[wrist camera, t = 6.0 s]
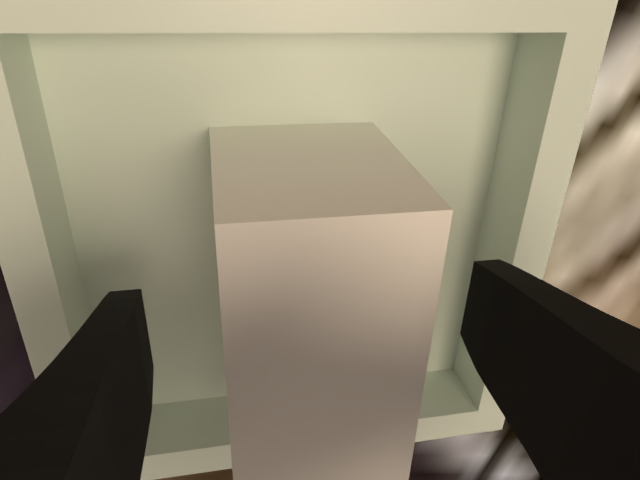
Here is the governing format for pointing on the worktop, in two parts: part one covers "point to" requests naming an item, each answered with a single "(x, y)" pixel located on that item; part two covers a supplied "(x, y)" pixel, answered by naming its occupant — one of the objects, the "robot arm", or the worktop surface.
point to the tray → (271, 109)
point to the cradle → (205, 476)
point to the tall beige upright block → (324, 298)
